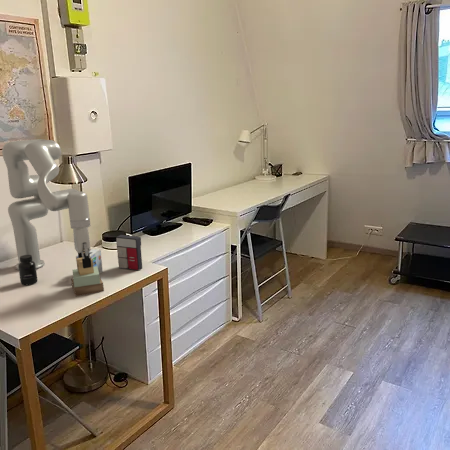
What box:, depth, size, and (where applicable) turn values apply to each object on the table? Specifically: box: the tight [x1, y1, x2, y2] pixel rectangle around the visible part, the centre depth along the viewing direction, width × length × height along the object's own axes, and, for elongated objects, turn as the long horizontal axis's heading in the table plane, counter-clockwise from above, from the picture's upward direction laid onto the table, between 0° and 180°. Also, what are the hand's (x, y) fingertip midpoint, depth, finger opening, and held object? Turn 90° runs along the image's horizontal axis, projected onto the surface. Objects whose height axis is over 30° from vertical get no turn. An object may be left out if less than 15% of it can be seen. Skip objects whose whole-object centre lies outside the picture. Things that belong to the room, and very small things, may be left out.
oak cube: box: [75, 257, 94, 275], centre depth 186 cm, size 6×6×6 cm
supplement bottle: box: [18, 255, 38, 286], centre depth 196 cm, size 7×7×12 cm
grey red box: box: [115, 234, 143, 271], centre depth 209 cm, size 11×4×15 cm, turn 68°
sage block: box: [72, 266, 101, 287], centre depth 188 cm, size 10×10×4 cm
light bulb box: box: [75, 248, 104, 275], centre depth 202 cm, size 11×7×11 cm, turn 168°
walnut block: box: [70, 277, 105, 297], centre depth 189 cm, size 11×11×4 cm
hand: (85, 263), depth 186 cm, fingers open, 9 cm apart
